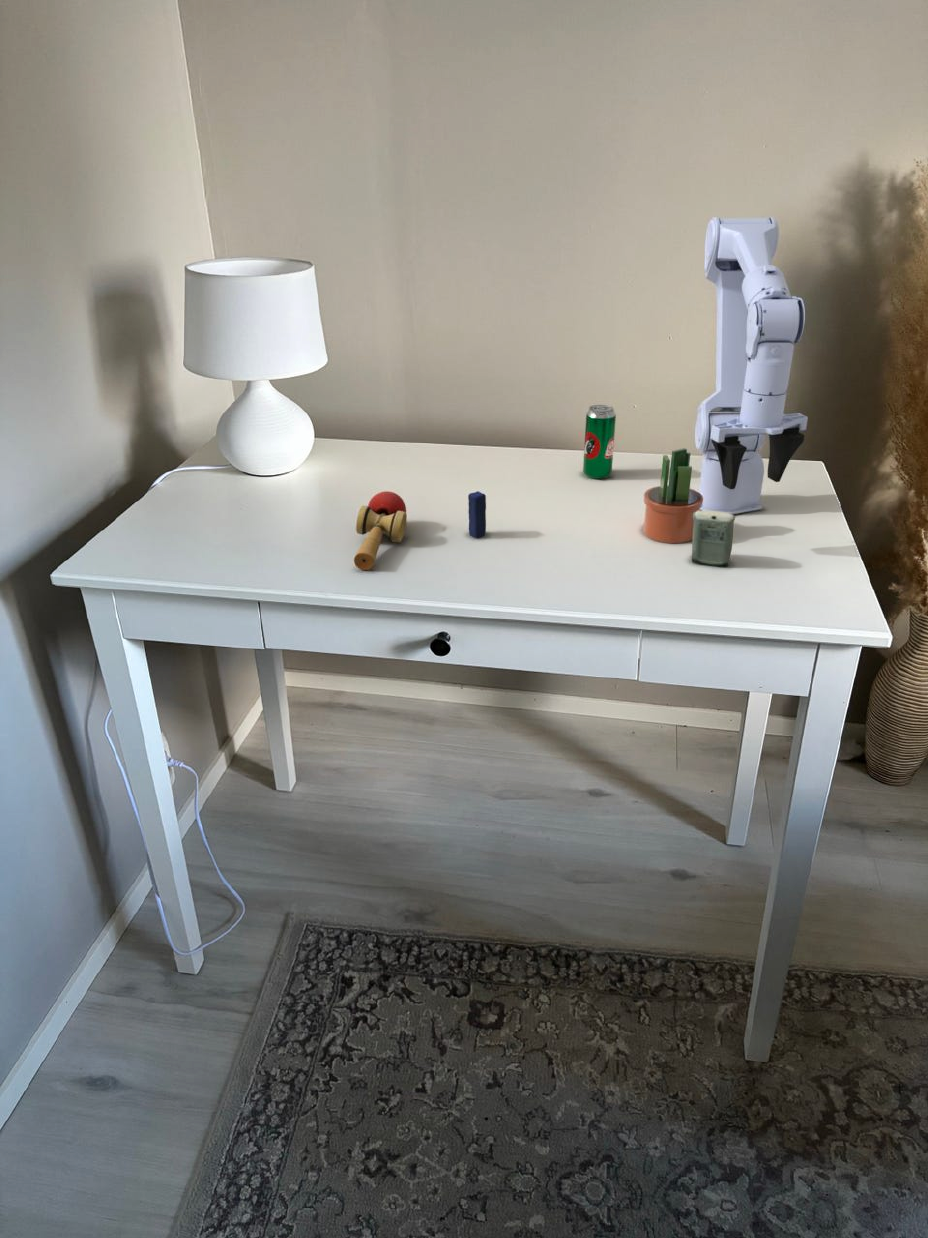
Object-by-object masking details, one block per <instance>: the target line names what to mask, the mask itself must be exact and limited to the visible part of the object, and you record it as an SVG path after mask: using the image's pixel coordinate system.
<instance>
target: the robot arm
mask: <svg viewBox="0 0 928 1238" xmlns="http://www.w3.org/2000/svg"><path fill="white" fill-rule="evenodd" d="M779 229H780V228H779V223H778V221H777V219H776V218H775V217H774V216H768V217H717V216H713V217H712V218H711V219H710V221H709V222H708V224H707V227H706V231H705V238H704V239H705V240H704V266H703V267H704V272H705V279H706V280H708V281H709V282H711V283H713V284H714V286H715V294H716V348H715V349H716V351H715V352H716V353H715V354H716V355H715V356H716V357H715V358H716V359H715V391H714V392H713V393H712V394H711V395H709V396H708V397H706V398H705V399H703V400H702V401H701V403H700V404H699V406H698V407H697V411H696V412H697V413H696V422H695V427H694V429H695V430H694V442H695V447H696V449H697V450H698V452H699V453H701V454H702V460H701V467H700V468H701V469H700V478H699V486H698V492H699V493H700V494H701V495H702V496H703V505H702V507H701V508H700V509H699V511H720V512H726V513H730V514H733V515H737V514H742V513H743V514H744V513H748V512H754V511H760V510H762V509H763V506H762V505H761V504H760V502H761V495H762V488H763V484H764V483H763V482H764V475H765V465H764V464H765V463H764V460H763V458H762V456H761V454H759V452H760V450H761V449H762V448H763V446H764V441H765V436H766V435H768V439H769V456H768V462H767V463H768V465H767V478H768V479H769V480H772V481H773V482H775V483H779V482H781V479H782V477H783V475H784V473H785V471H786V469H787V466H788V465H789V462H790V460H791V459H792V457H793V456H794V454H795V453H796V452H797V450H798V449H799V448H800V446H801V445H803V443H804V441H805V434H803V433H802V432H801V431H806V430H807V427H808V426H807V425H808V421H809V420H808V419H809V417H808V416H807V415H804V414H802V413H799V412H798V413H784V411H785V405H786V399H787V393H788V386H789V381H790V374H791V373H790V372H791V369H792V361H793V357H794V356H793V354H794V349H795V345H794V344H798V343H800V341H801V339H802V337H803V333H804V329H805V324H806V323H805V321H806V309H805V303H804V299H803V298H801V297H797V296H796V295H791V292H790V289H789V287H788V284H787V281H786V278H785V275H784V273H783V271H782V270H781V269H780V268H779V267H778V266H776V265H773V262H772V261H773V258H774V257H775V255H776V253H777V250H778V245H779V237H780V235H779V234H780V230H779Z"/></svg>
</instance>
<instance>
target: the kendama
mask: <svg viewBox="0 0 928 1238" xmlns="http://www.w3.org/2000/svg"><path fill="white" fill-rule="evenodd" d="M355 523H356V524H355V530H356V531H355V532H356V533H357V534H358V535H363V536H364V535H366V534H367V535H366V537H365V538H364V540H363V541H362V544H361V546H359V547H360V548H359V549H358V551H357V552H356V554H355V555H354V557H353V563H354V565H355V567H357V568H358V569H359V570H361V571H369V570H371V569H373V567H374V566H375V562H376V558H377V555H378V551H379V548H380V545H381V541H382V536H383V534H384V535H386V536H387V537H389V539H390V540H391V541H392V543H398V544H400V543H401V542H402V540H403V538H404V535H405V531H406V526H407V505H406V503H405V501H404V499H403V497H401V496H400V495H399V494H397V493H396V492H393V491H388V490H387V491H385V490H384V491H381V492H378V493H376V494H374V496H373V497H372V498H371V499H370V501H369V502H368V505H362V506H360V508H359V510H358V513H357V518H356V522H355Z"/></svg>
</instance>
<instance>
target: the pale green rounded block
mask: <svg viewBox="0 0 928 1238" xmlns="http://www.w3.org/2000/svg"><path fill="white" fill-rule="evenodd" d="M693 519H694V527H693V539H692V543H691V544H692V545H691V562H692V563H693V564H696V565H703V566H712V567H720V568H726V567H728V566H729V565H730V560H731V555H732V550H733V541H734V527H735V526H734V524H735V523H734V522H735V520H736V515H735V514H730V513H726V512H720V511H702V510H699V511H696V512H694V513H693Z"/></svg>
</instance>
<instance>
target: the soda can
mask: <svg viewBox="0 0 928 1238" xmlns="http://www.w3.org/2000/svg"><path fill="white" fill-rule="evenodd" d="M616 419H617V414H616V412H615V408H614V407H613V406H612V405H607V404H593V405H591V406H589V407H588V411H587V412H586V413H585V426H584V427H585V429H584V431H585V432H584V448H583V463H582V465H583V466H582V472H583V474H584V475H585V476H586V477H587V478H590V479H593V480H602V479H607V478H608V477H610V475H612V473H613V461H614V448H615V436H616V435H615V434H616Z"/></svg>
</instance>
